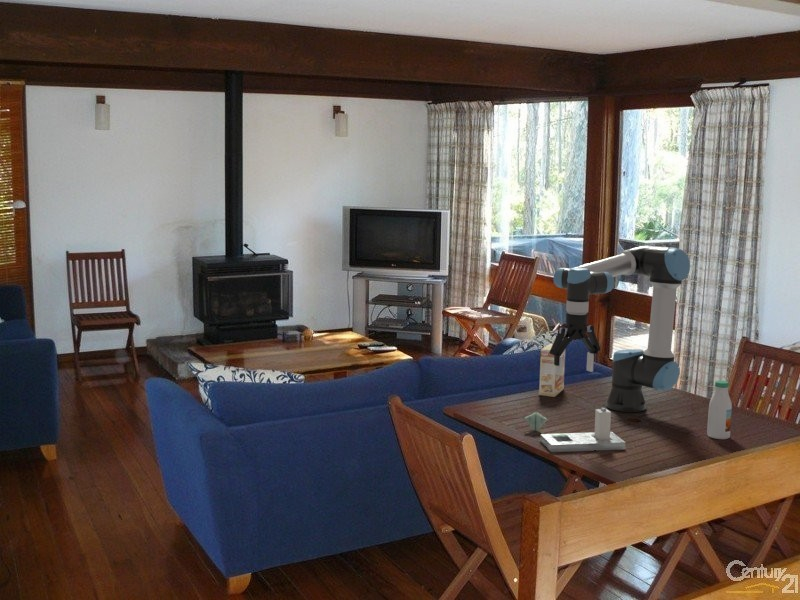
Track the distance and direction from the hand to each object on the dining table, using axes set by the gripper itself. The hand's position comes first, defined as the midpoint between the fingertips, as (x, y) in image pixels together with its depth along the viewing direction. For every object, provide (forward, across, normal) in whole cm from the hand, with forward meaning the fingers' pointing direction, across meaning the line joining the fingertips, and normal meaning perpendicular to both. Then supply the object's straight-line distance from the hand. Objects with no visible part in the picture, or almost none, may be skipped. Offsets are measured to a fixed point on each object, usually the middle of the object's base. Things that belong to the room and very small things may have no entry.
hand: (574, 373), depth 311 cm
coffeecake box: (+23, -31, -54) cm, 66 cm away
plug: (+23, -4, +12) cm, 26 cm away
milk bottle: (+23, -48, +22) cm, 58 cm away
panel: (+23, +2, +9) cm, 25 cm away
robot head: (+23, +7, -11) cm, 27 cm away
